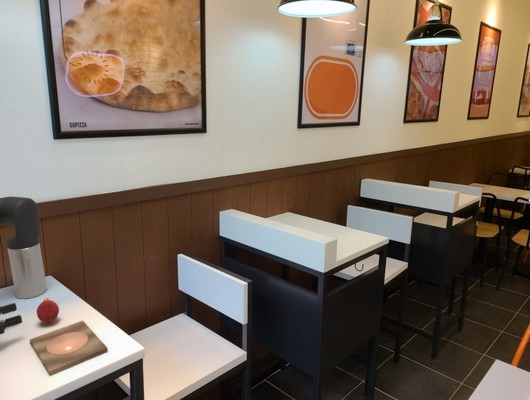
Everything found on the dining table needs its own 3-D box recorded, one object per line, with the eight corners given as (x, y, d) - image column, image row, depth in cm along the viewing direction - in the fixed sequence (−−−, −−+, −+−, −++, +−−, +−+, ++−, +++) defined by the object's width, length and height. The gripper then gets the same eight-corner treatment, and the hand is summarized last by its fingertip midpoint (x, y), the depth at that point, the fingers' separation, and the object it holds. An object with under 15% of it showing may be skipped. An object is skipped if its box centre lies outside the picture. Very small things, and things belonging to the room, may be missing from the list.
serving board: (30, 343, 112) (29, 338, 111) (83, 324, 121) (82, 319, 120) (50, 375, 99) (49, 370, 98) (107, 351, 108) (107, 346, 108)
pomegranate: (61, 324, 121) (58, 299, 119) (39, 330, 118) (35, 305, 116) (59, 315, 126) (55, 291, 124) (37, 321, 123) (33, 296, 121)
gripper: (-55, 332, 100) (21, 310, 110) (-58, 309, 110) (12, 291, 120) (-49, 359, 102) (25, 335, 111) (-52, 334, 112) (16, 314, 122)
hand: (18, 312), depth 116 cm, fingers open, 8 cm apart
